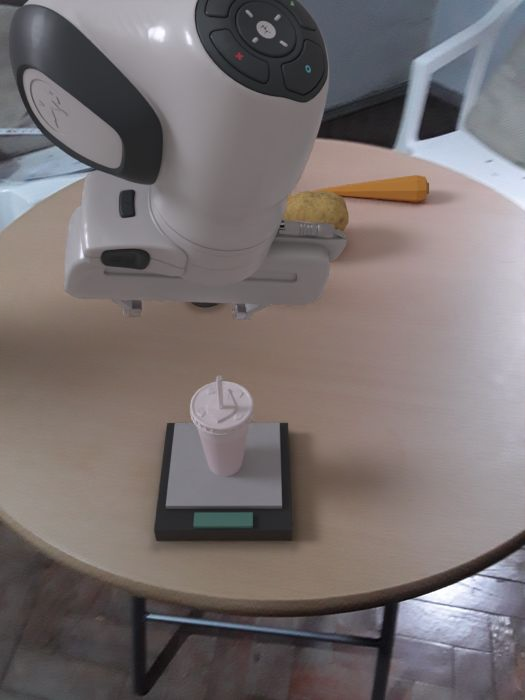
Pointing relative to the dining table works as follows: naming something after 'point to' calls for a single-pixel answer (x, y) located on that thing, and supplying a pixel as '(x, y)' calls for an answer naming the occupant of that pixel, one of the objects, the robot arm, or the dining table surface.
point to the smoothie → (222, 423)
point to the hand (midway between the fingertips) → (187, 311)
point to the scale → (225, 488)
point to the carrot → (387, 189)
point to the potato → (317, 208)
